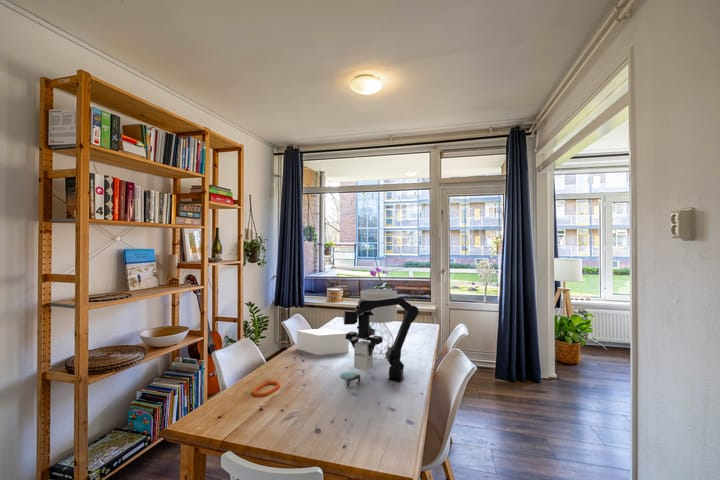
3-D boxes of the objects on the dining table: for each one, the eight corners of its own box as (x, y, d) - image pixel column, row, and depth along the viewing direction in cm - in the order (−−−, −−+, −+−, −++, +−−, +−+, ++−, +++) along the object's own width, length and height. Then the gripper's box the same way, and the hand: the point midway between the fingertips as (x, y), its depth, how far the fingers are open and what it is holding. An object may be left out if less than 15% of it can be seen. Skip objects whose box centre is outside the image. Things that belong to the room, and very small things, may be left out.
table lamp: (396, 350, 210) (396, 289, 211) (397, 363, 188) (397, 294, 189) (362, 349, 212) (362, 288, 213) (358, 361, 190) (358, 293, 191)
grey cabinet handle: (362, 382, 162) (362, 374, 162) (353, 389, 154) (353, 380, 154) (349, 379, 166) (349, 371, 166) (339, 385, 158) (339, 377, 158)
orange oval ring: (284, 382, 159) (264, 395, 145) (284, 385, 159) (264, 399, 145) (268, 379, 163) (247, 391, 149) (268, 382, 163) (247, 395, 149)
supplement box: (353, 368, 162) (353, 343, 163) (360, 364, 169) (360, 339, 169) (366, 371, 159) (366, 345, 159) (373, 366, 165) (373, 341, 165)
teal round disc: (360, 374, 171) (360, 373, 171) (352, 380, 164) (352, 380, 164) (346, 371, 176) (346, 370, 176) (337, 377, 168) (337, 376, 168)
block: (345, 357, 199) (345, 336, 199) (291, 353, 205) (292, 334, 205) (351, 348, 216) (351, 329, 216) (301, 345, 222) (301, 327, 223)
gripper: (387, 323, 166) (387, 353, 166) (356, 318, 176) (355, 347, 176) (377, 327, 157) (377, 360, 157) (345, 322, 166) (344, 353, 166)
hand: (363, 354), depth 164 cm, fingers closed on supplement box, 7 cm apart
